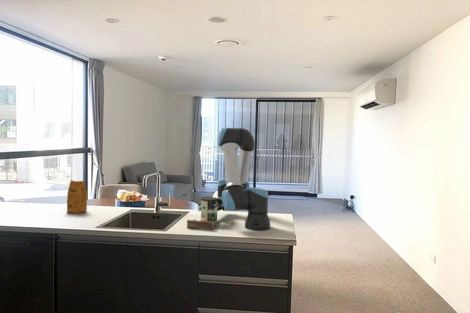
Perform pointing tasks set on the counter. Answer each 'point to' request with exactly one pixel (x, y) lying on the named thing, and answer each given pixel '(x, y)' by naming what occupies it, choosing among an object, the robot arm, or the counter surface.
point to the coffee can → (209, 208)
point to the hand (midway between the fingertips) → (206, 209)
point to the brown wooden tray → (201, 225)
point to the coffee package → (77, 197)
